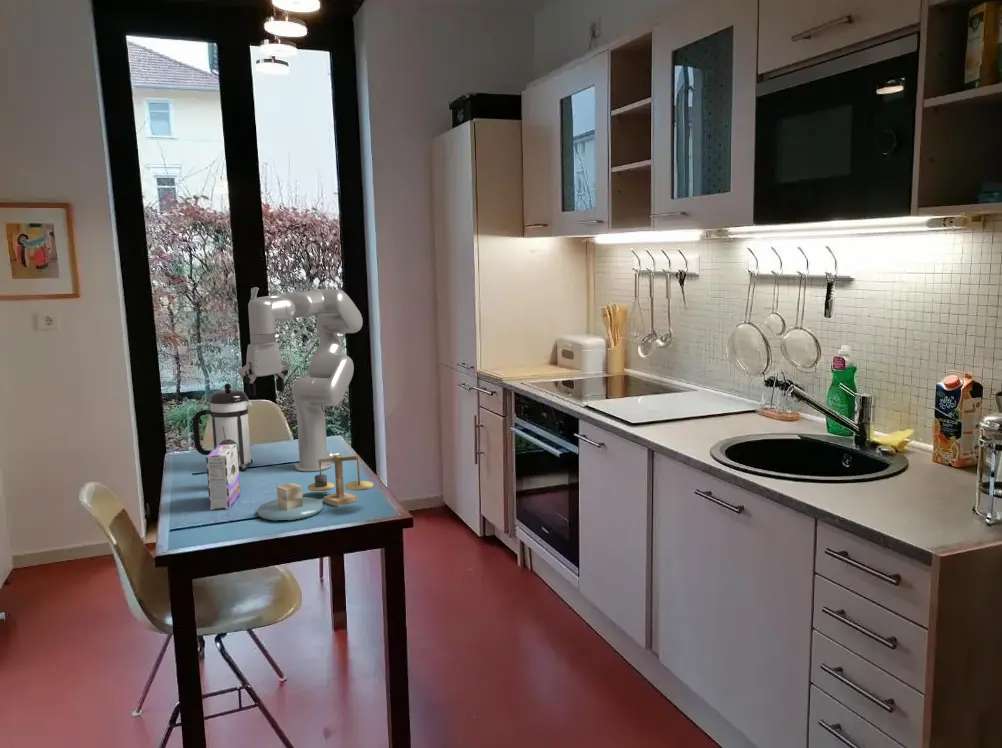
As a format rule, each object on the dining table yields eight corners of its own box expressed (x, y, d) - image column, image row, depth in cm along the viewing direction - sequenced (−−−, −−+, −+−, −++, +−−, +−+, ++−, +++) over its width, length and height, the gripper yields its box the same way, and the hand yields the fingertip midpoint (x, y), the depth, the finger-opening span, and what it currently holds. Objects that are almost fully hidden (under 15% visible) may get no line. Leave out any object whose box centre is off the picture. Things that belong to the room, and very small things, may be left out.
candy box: (221, 496, 240) (218, 444, 238) (241, 495, 241) (237, 443, 238) (209, 510, 226) (204, 455, 224) (229, 509, 227) (225, 454, 224)
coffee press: (242, 459, 284) (236, 378, 280) (263, 467, 273) (257, 383, 268) (195, 469, 272) (188, 384, 268) (215, 477, 261) (208, 389, 256)
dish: (300, 498, 236) (300, 493, 236) (335, 510, 224) (335, 505, 224) (246, 513, 223) (245, 507, 223) (279, 527, 211) (279, 521, 211)
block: (293, 502, 227) (292, 482, 226) (302, 506, 223) (301, 486, 223) (278, 506, 223) (276, 486, 222) (287, 510, 220) (286, 490, 219)
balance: (325, 489, 245) (322, 441, 242) (379, 507, 226) (377, 455, 223) (303, 495, 239) (300, 446, 236) (357, 514, 220) (354, 461, 218)
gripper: (281, 336, 251) (284, 388, 253) (231, 341, 238) (235, 396, 241) (294, 337, 246) (297, 391, 248) (243, 342, 233) (247, 398, 236)
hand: (266, 393), depth 245 cm, fingers open, 9 cm apart
